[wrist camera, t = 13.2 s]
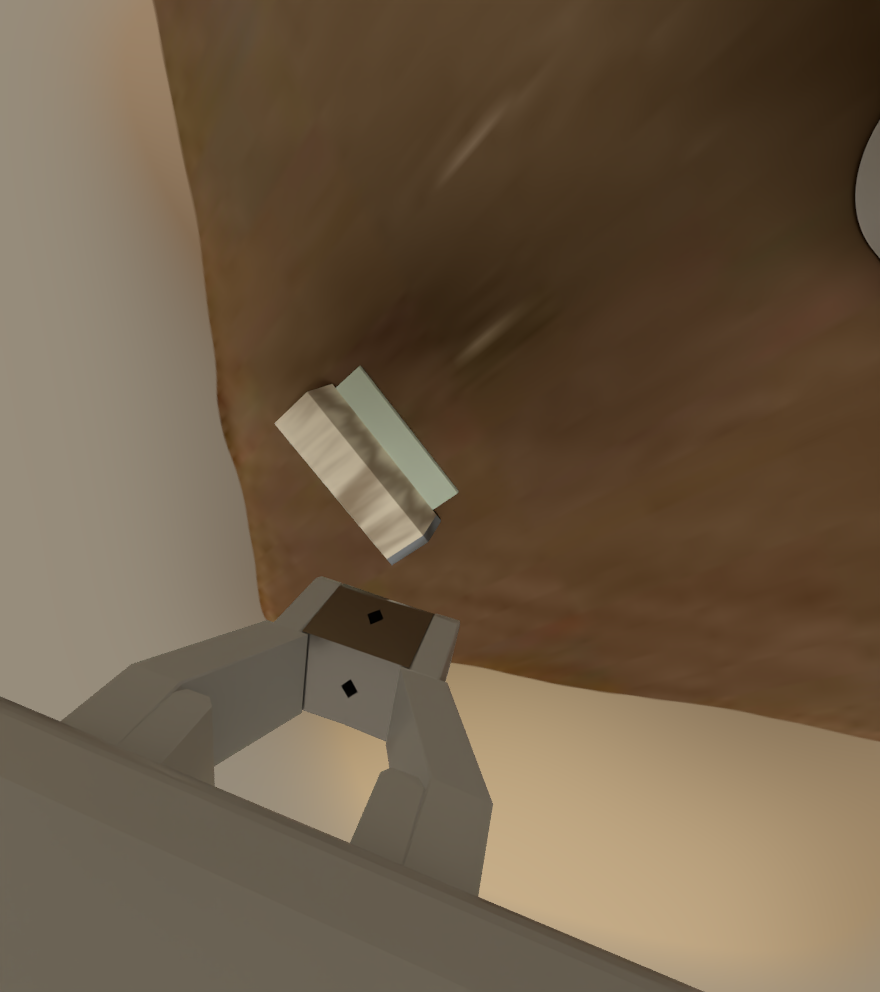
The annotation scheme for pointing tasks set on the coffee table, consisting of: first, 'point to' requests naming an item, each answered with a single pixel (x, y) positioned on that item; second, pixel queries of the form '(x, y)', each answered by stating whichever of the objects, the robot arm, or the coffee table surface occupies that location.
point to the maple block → (359, 472)
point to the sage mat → (396, 438)
